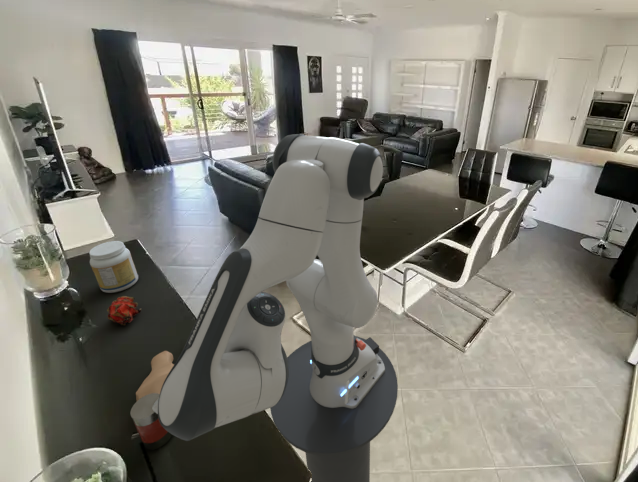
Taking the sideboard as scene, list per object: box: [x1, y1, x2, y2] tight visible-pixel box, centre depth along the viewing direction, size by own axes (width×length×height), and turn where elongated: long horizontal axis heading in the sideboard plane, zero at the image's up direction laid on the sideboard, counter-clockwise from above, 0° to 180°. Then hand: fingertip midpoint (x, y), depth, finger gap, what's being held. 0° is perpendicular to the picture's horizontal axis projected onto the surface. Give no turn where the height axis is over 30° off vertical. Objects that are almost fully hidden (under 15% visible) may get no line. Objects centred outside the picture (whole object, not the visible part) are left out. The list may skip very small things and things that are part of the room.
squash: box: [135, 350, 175, 402], centre depth 86 cm, size 11×20×9 cm, turn 35°
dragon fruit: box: [106, 295, 142, 326], centre depth 109 cm, size 8×8×12 cm
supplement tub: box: [89, 240, 139, 294], centre depth 124 cm, size 12×12×17 cm
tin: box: [130, 393, 173, 451], centre depth 74 cm, size 6×6×11 cm
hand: (184, 374), depth 65 cm, fingers open, 8 cm apart
